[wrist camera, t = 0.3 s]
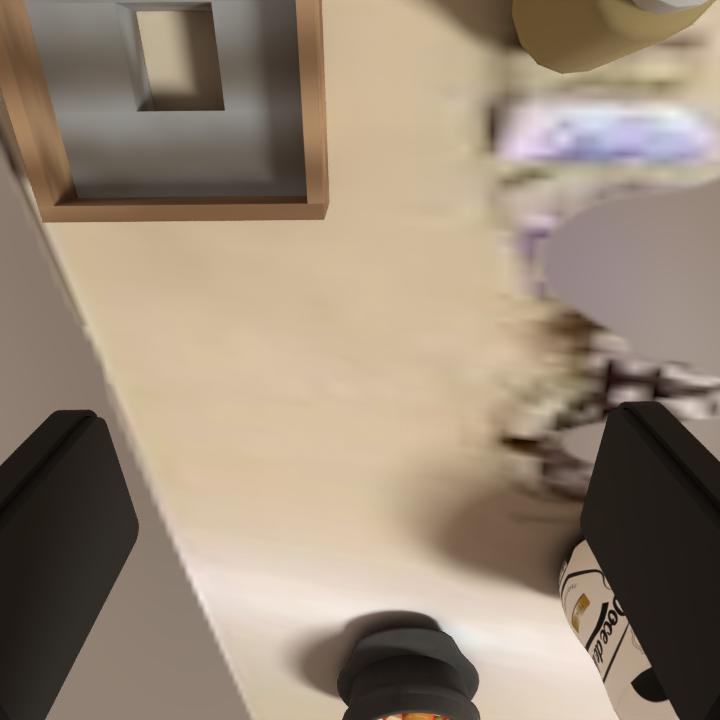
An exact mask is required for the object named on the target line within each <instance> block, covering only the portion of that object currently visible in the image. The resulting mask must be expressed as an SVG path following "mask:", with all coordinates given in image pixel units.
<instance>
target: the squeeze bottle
mask: <svg viewBox="0 0 720 720" xmlns="http://www.w3.org/2000/svg"><path fill="white" fill-rule="evenodd" d="M715 1H716V0H513V1H512V18H513V21H514V24H515V27H516V31H517V34H518V37H519V41H520V44H521V45H522V46H523V48H524V49H525V50H526V51H527V52H528V53H529V55H530V56H531V57H532V58H533V59H534V60H535V61H536V63H537V64H538V65H541V66H543V67H546V68H548V69H551V70H554V71H556V72H559V73H561V74H564V73H574V72H584V71H590V70H592V69H595V68H597V67H599V66H602V65H604V64H607V63H609V62H612V61H614V60H617V59H619V58H621V57H624V56H626V55H629V54H631V53H634V52H636V51H638V50H641V49H643V48H646V47H648V46H651V45H653V44H656V43H658V42H660V41H663V40H665V39H667V38H668V37H670V36H672V35H674V34H676V33H678V32H680V31H681V30H683V29H685V28H687V27H689V26H691V25H692V24H693V23H694V22H695V21H696V20H697V19H698V18H699V17H700V16H701V15H702V14H703V13H704V12H705V11H706V10H707V9H708V8H709V7H710V6H711V5H712V4H713V3H714V2H715Z"/></svg>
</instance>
